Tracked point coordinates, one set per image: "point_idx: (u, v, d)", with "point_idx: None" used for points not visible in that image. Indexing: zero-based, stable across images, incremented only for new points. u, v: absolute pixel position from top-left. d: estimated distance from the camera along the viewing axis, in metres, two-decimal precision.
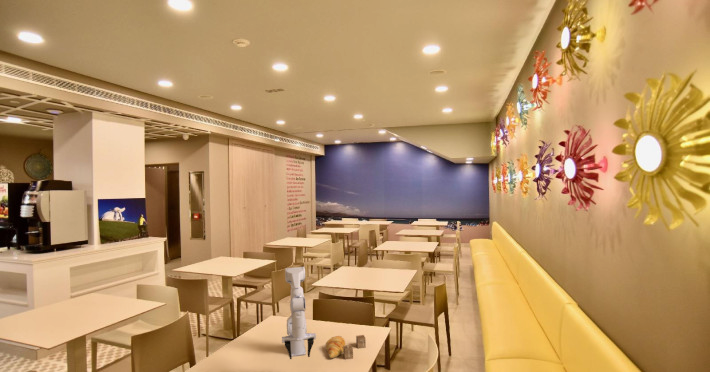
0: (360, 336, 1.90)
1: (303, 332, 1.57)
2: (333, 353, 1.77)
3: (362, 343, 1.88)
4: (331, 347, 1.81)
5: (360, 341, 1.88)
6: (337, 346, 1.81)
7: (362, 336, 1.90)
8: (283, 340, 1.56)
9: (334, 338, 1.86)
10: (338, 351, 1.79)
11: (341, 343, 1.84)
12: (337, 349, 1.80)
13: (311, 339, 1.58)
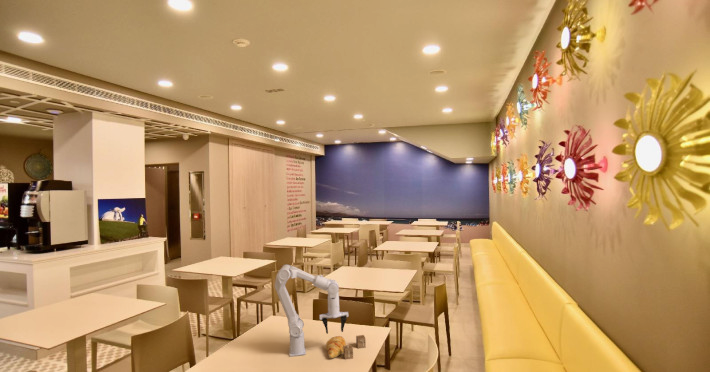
0: (360, 336, 1.90)
1: (338, 310, 1.84)
2: (333, 353, 1.77)
3: (362, 343, 1.88)
4: (331, 347, 1.81)
5: (360, 341, 1.88)
6: (337, 346, 1.81)
7: (362, 336, 1.90)
8: (321, 317, 1.84)
9: (334, 338, 1.86)
10: (338, 351, 1.79)
11: (341, 343, 1.84)
12: (337, 349, 1.80)
13: (344, 317, 1.86)
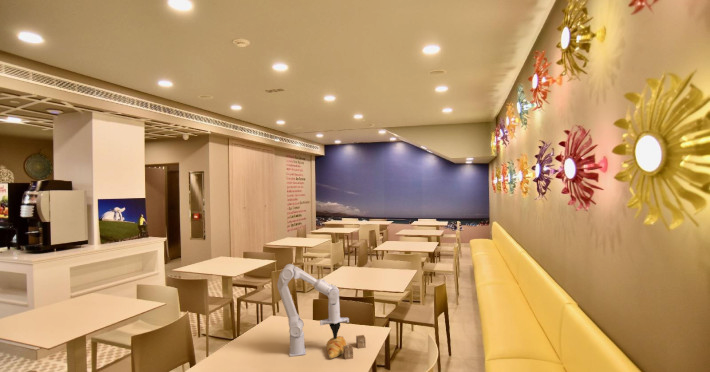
0: (360, 336, 1.90)
1: (338, 316, 1.85)
2: (333, 353, 1.77)
3: (362, 343, 1.88)
4: (331, 347, 1.81)
5: (360, 341, 1.88)
6: (337, 346, 1.81)
7: (362, 336, 1.90)
8: (321, 323, 1.84)
9: (335, 338, 1.86)
10: (338, 351, 1.79)
11: (341, 344, 1.84)
12: (337, 349, 1.80)
13: None
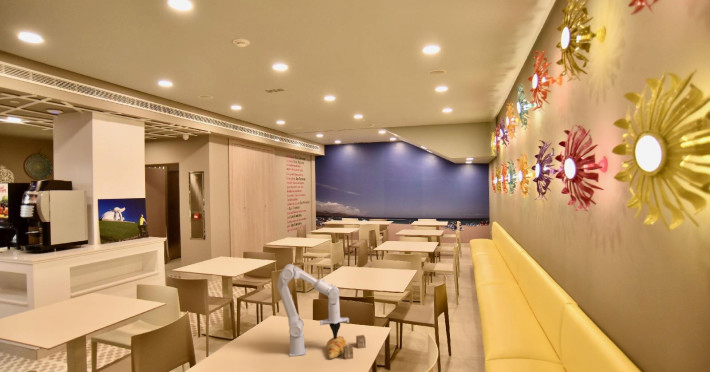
0: (360, 336, 1.90)
1: (338, 316, 1.85)
2: (333, 353, 1.77)
3: (362, 343, 1.88)
4: (331, 347, 1.81)
5: (360, 341, 1.88)
6: (337, 346, 1.81)
7: (362, 336, 1.90)
8: (321, 323, 1.84)
9: (335, 338, 1.86)
10: (338, 351, 1.79)
11: (341, 344, 1.84)
12: (337, 349, 1.79)
13: None
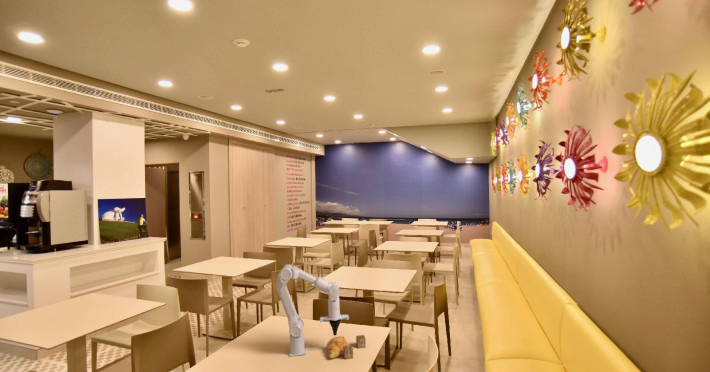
0: (360, 336, 1.90)
1: (338, 313, 1.85)
2: (333, 353, 1.77)
3: (362, 343, 1.88)
4: (332, 347, 1.81)
5: (360, 341, 1.88)
6: (338, 346, 1.80)
7: (362, 336, 1.90)
8: (321, 320, 1.84)
9: (335, 338, 1.86)
10: (338, 351, 1.79)
11: (342, 344, 1.83)
12: (337, 349, 1.79)
13: None
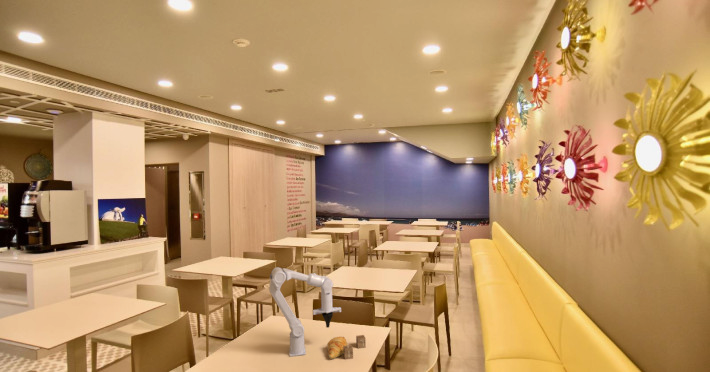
0: (360, 336, 1.90)
1: (331, 306, 1.89)
2: (333, 354, 1.77)
3: (362, 343, 1.88)
4: (332, 347, 1.80)
5: (360, 341, 1.88)
6: (338, 347, 1.80)
7: (362, 336, 1.90)
8: (314, 312, 1.88)
9: (335, 338, 1.86)
10: (338, 352, 1.79)
11: (342, 344, 1.83)
12: (337, 350, 1.79)
13: None
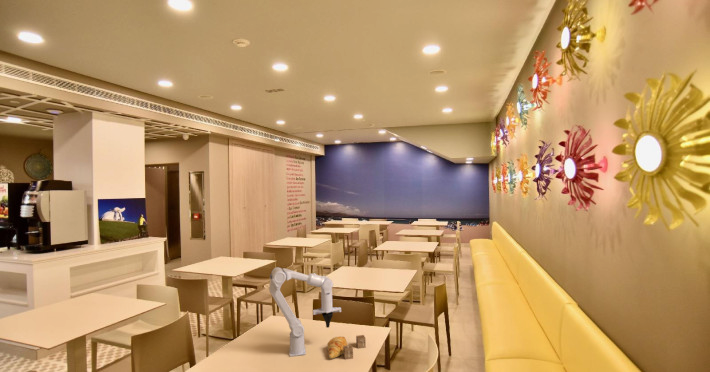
0: (360, 336, 1.90)
1: (331, 306, 1.89)
2: (333, 353, 1.77)
3: (362, 343, 1.88)
4: (332, 347, 1.80)
5: (360, 341, 1.88)
6: (338, 347, 1.80)
7: (362, 336, 1.90)
8: (314, 312, 1.88)
9: (335, 338, 1.86)
10: (338, 352, 1.79)
11: (342, 344, 1.83)
12: (337, 350, 1.79)
13: None
